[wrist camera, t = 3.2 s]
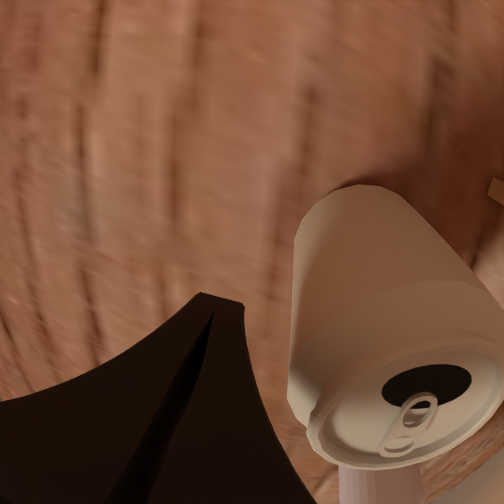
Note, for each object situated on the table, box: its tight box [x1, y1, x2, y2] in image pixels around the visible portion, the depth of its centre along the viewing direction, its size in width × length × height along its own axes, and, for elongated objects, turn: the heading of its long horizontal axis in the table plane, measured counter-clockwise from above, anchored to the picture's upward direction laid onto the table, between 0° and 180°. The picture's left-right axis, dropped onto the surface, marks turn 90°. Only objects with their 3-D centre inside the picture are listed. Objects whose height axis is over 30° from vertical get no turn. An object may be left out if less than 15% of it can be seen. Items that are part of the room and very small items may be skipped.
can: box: [287, 185, 504, 470], centre depth 12 cm, size 8×8×12 cm
